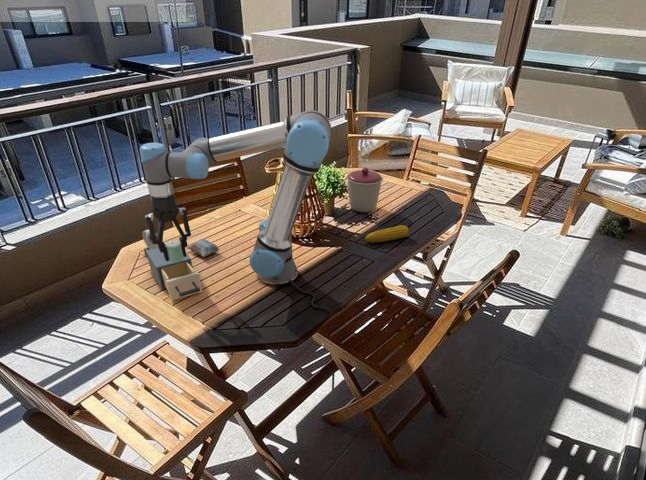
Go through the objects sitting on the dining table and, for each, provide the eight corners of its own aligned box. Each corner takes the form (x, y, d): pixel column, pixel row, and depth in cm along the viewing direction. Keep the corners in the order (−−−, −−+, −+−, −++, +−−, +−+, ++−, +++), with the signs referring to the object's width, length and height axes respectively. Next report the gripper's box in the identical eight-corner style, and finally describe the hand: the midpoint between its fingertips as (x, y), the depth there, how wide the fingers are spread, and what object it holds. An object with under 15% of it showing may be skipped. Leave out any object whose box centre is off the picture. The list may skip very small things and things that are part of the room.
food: (403, 233, 207) (404, 222, 204) (409, 239, 203) (411, 227, 200) (362, 241, 200) (363, 229, 197) (368, 247, 196) (369, 235, 192)
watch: (153, 260, 182) (147, 236, 176) (143, 254, 186) (136, 230, 180) (166, 255, 186) (160, 231, 179) (155, 249, 190) (149, 225, 183)
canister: (381, 216, 222) (385, 174, 209) (345, 215, 222) (346, 173, 209) (379, 202, 237) (382, 162, 224) (345, 201, 236) (346, 161, 224)
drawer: (208, 299, 160) (204, 281, 155) (176, 309, 154) (171, 290, 150) (190, 274, 173) (186, 257, 168) (160, 283, 167) (155, 265, 163)
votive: (186, 258, 158) (183, 242, 154) (171, 263, 154) (168, 247, 151) (179, 252, 161) (176, 236, 157) (164, 257, 158) (160, 241, 154)
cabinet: (195, 280, 171) (190, 258, 165) (161, 289, 165) (156, 267, 160) (183, 263, 181) (178, 242, 175) (151, 272, 175) (145, 250, 169)
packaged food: (203, 261, 182) (201, 250, 180) (186, 251, 189) (184, 241, 186) (221, 254, 188) (219, 243, 185) (204, 245, 194) (202, 234, 191)
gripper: (187, 185, 150) (198, 246, 164) (128, 195, 142) (145, 259, 156) (194, 192, 145) (204, 255, 159) (134, 203, 137) (151, 268, 151)
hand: (175, 257), depth 157 cm, fingers closed on votive, 6 cm apart
